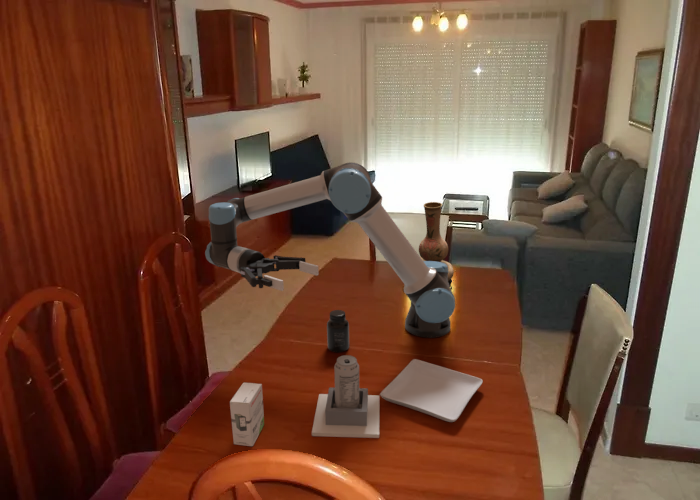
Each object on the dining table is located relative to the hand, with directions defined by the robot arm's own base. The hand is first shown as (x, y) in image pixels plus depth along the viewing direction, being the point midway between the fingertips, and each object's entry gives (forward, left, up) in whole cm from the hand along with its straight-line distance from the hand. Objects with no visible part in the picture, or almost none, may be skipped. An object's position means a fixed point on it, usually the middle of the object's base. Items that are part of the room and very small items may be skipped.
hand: (300, 278), depth 142 cm
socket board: (-13, +18, -30) cm, 37 cm away
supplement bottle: (-8, -17, -30) cm, 36 cm away
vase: (-41, -68, -30) cm, 85 cm away
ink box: (+10, +26, -30) cm, 41 cm away
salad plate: (-35, +8, -31) cm, 47 cm away
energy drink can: (-13, +18, -29) cm, 37 cm away
